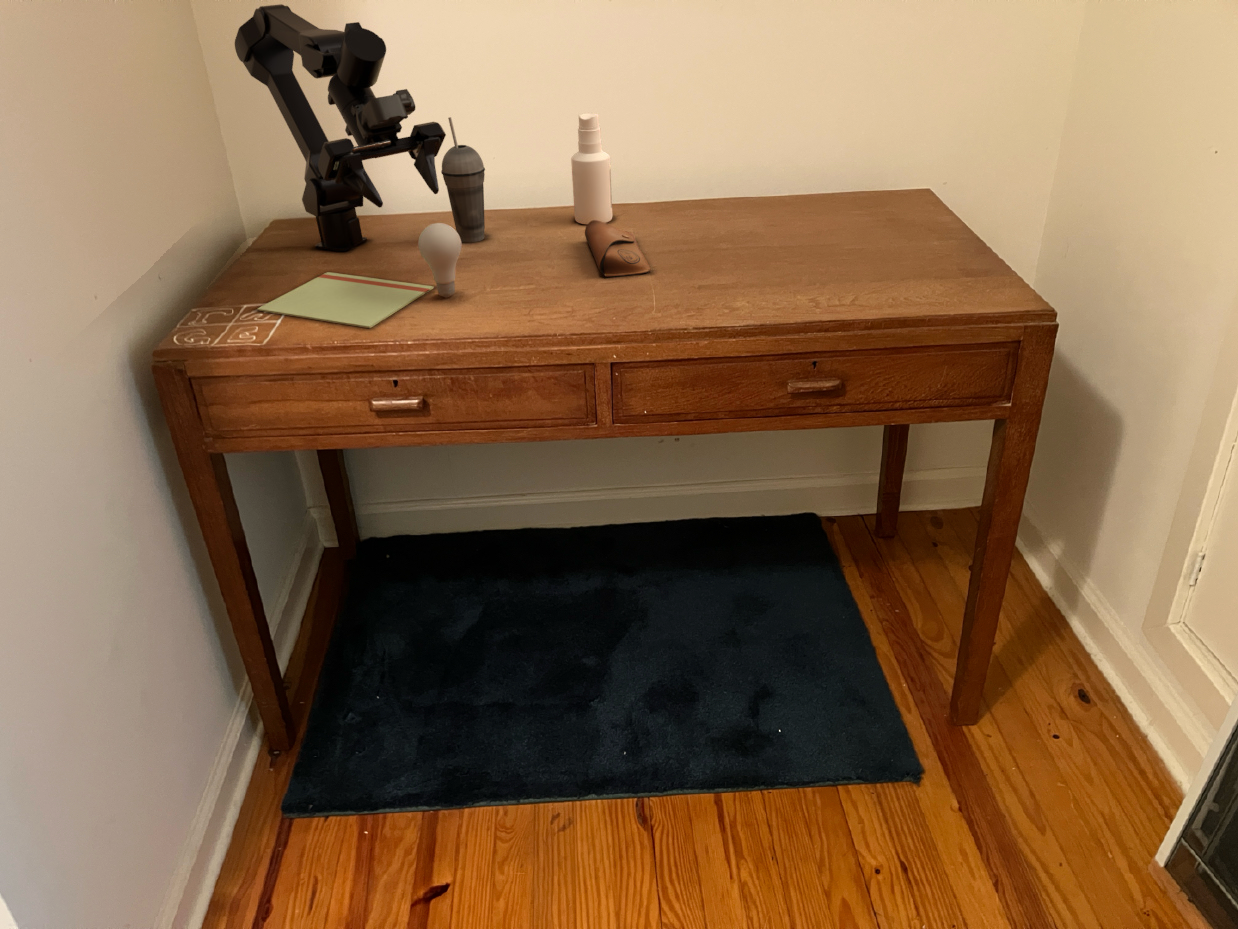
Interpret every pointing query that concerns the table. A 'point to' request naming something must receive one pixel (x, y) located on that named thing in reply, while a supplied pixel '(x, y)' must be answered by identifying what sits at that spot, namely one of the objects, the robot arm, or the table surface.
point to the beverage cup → (465, 189)
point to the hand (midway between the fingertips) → (409, 198)
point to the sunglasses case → (615, 250)
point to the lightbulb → (441, 255)
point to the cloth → (347, 299)
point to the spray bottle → (591, 174)
